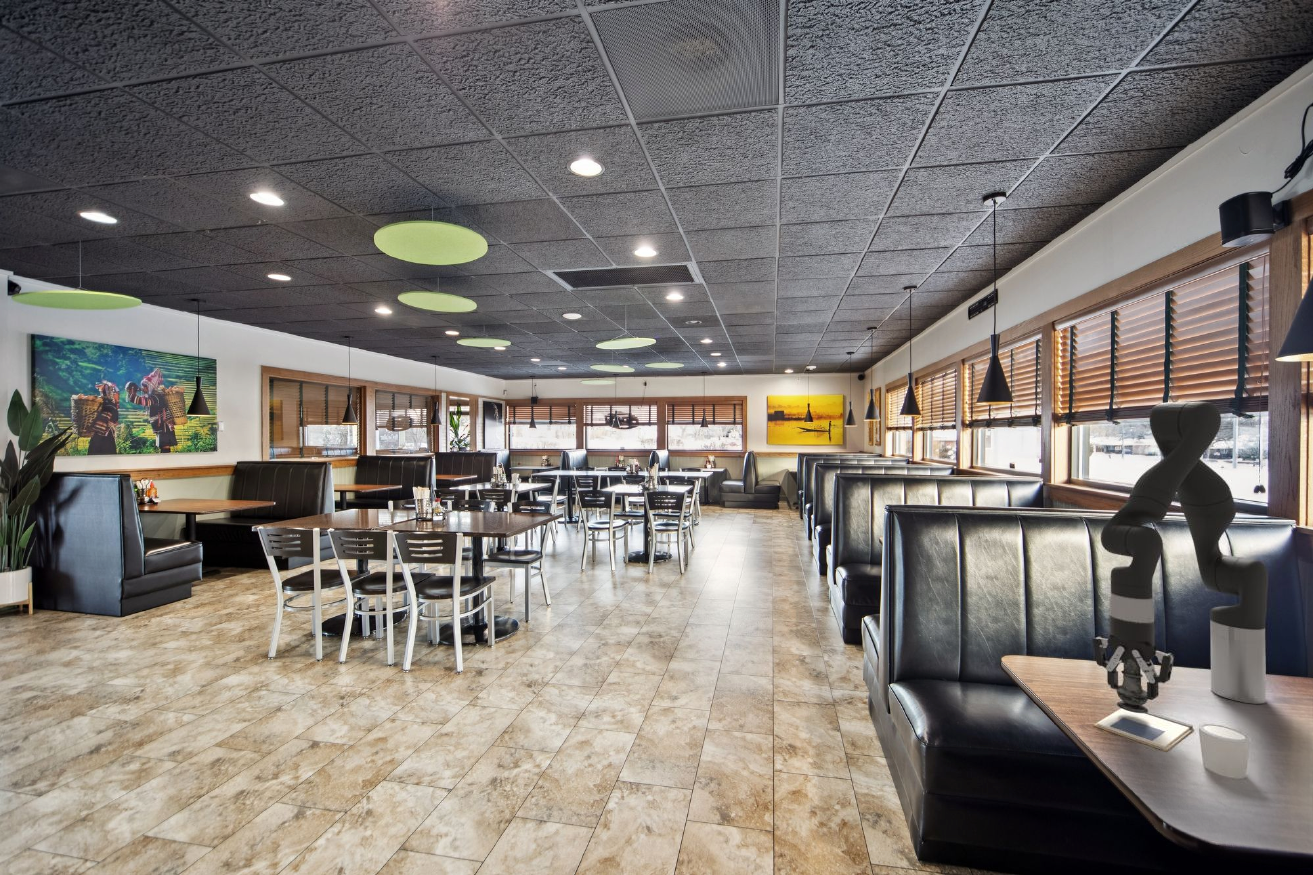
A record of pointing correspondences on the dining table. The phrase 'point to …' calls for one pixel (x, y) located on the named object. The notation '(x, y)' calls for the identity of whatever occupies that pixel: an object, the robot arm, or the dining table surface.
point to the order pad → (1146, 728)
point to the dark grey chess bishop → (1132, 689)
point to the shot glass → (1224, 750)
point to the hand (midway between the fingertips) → (1132, 693)
